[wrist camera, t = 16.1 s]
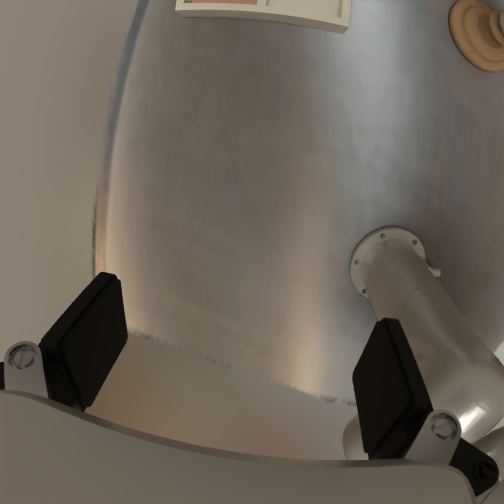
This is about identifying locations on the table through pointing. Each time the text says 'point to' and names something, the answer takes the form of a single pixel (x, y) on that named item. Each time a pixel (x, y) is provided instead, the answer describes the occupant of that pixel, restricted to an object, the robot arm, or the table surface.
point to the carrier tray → (274, 11)
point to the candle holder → (478, 34)
